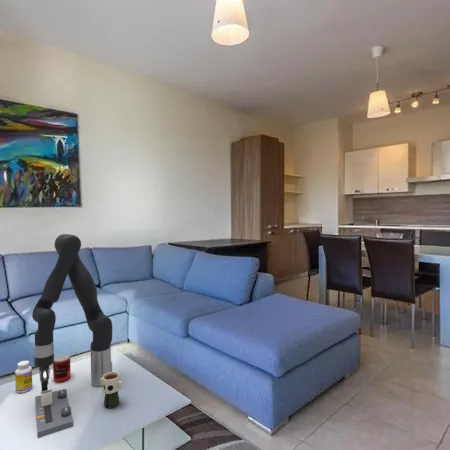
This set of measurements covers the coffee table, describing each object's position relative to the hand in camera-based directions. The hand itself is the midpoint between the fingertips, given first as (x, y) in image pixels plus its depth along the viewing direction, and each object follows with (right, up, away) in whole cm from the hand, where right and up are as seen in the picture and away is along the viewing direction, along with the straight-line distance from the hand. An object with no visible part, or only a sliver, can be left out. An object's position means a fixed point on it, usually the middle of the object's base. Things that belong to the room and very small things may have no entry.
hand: (44, 392), depth 140 cm
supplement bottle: (-16, -5, +11) cm, 20 cm away
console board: (+7, -6, -6) cm, 10 cm away
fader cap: (+3, -3, -3) cm, 5 cm away
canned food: (-3, -4, +20) cm, 21 cm away
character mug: (+29, -6, 0) cm, 30 cm away
